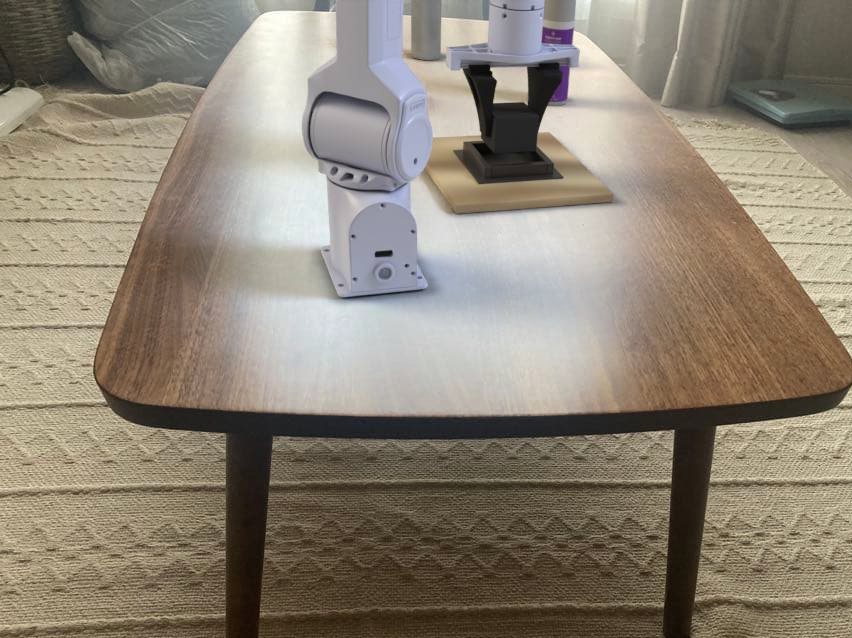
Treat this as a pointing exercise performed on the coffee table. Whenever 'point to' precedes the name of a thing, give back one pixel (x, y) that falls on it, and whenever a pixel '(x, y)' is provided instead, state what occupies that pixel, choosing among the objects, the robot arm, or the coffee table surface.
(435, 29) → the grey upright cylinder
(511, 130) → the black cube
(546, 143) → the pad base
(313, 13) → the coffee table surface
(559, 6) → the container
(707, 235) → the coffee table surface
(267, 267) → the coffee table surface
